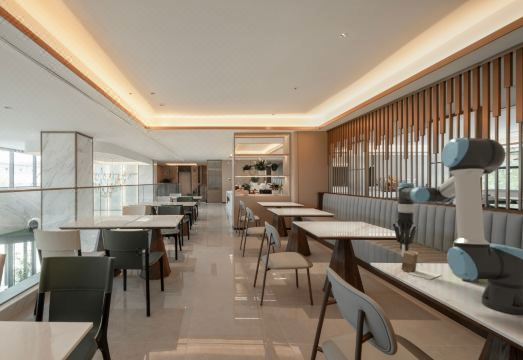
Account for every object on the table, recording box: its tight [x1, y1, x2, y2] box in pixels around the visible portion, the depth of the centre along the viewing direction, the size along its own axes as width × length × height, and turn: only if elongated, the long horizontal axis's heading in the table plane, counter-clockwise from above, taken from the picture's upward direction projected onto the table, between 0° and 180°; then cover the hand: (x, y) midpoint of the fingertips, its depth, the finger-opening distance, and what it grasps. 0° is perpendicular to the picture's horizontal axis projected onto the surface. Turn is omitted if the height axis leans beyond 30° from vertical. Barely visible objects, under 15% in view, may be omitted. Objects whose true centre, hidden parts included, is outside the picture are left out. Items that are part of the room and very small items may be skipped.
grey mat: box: [407, 269, 442, 280], centre depth 165 cm, size 12×11×1 cm
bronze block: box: [401, 249, 419, 273], centre depth 171 cm, size 5×5×10 cm
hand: (404, 256), depth 173 cm, fingers closed
